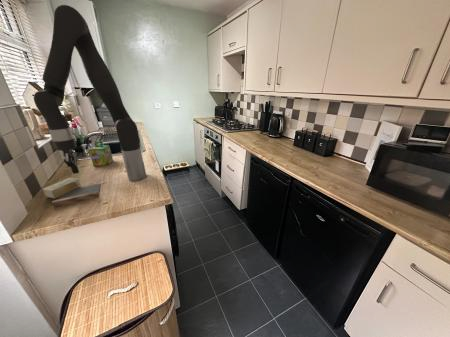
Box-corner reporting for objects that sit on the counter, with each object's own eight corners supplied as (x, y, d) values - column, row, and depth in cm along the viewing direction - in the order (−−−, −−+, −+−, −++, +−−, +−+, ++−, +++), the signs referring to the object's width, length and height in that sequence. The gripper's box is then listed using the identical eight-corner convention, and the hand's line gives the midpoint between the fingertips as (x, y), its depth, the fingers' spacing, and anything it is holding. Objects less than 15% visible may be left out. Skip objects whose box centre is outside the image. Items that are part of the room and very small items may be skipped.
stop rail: (98, 195, 86) (97, 191, 85) (98, 197, 84) (96, 192, 83) (55, 205, 79) (52, 200, 78) (54, 207, 77) (51, 202, 76)
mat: (100, 184, 96) (100, 183, 96) (98, 194, 86) (98, 194, 86) (62, 191, 89) (61, 191, 89) (55, 204, 79) (55, 203, 79)
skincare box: (73, 184, 95) (45, 196, 84) (70, 177, 93) (41, 188, 82) (81, 186, 93) (54, 199, 82) (79, 179, 91) (50, 191, 80)
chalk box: (93, 166, 117) (86, 144, 111) (99, 161, 125) (92, 140, 119) (108, 165, 119) (102, 143, 113) (113, 160, 127) (108, 139, 121)
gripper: (70, 140, 78) (83, 176, 85) (76, 134, 89) (87, 166, 96) (48, 143, 75) (63, 180, 82) (56, 136, 85) (69, 169, 92)
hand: (76, 172), depth 89 cm, fingers closed
